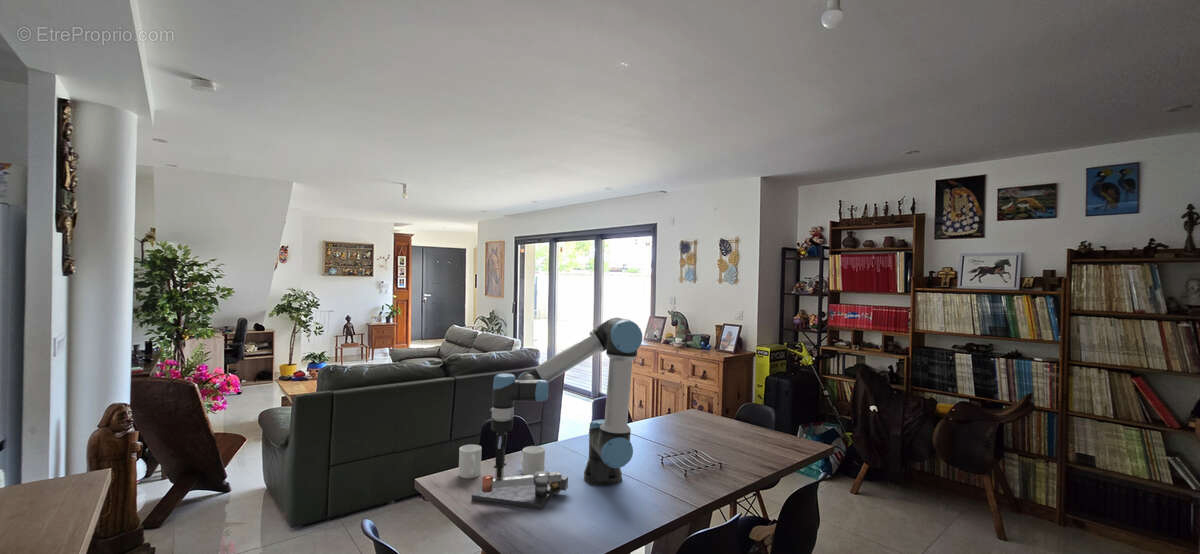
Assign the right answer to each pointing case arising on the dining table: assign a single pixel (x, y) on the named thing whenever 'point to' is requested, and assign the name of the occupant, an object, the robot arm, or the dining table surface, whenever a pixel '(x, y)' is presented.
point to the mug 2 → (532, 459)
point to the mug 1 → (470, 461)
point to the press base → (522, 494)
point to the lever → (520, 480)
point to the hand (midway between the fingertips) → (498, 485)
